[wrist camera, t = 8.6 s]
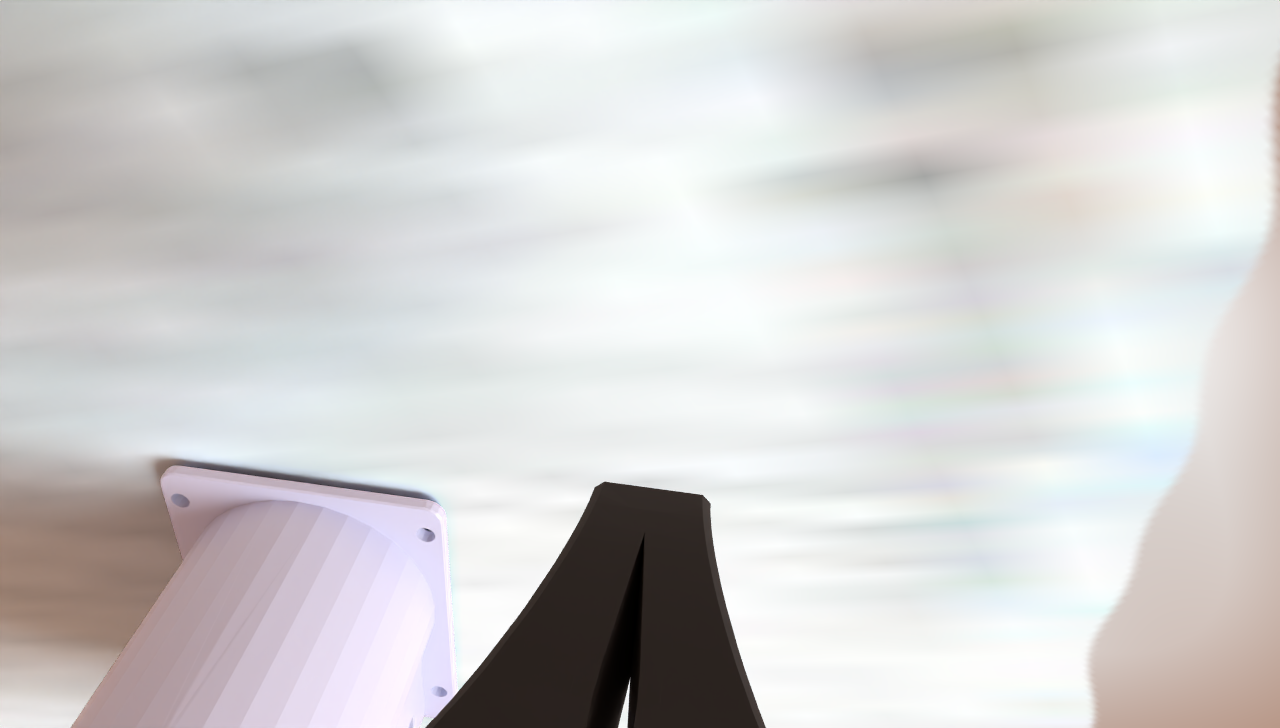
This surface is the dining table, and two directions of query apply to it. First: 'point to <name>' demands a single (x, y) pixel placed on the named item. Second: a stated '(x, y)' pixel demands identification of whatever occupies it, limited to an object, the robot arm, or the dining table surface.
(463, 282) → the dining table surface
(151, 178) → the dining table surface
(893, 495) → the dining table surface
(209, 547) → the robot arm
